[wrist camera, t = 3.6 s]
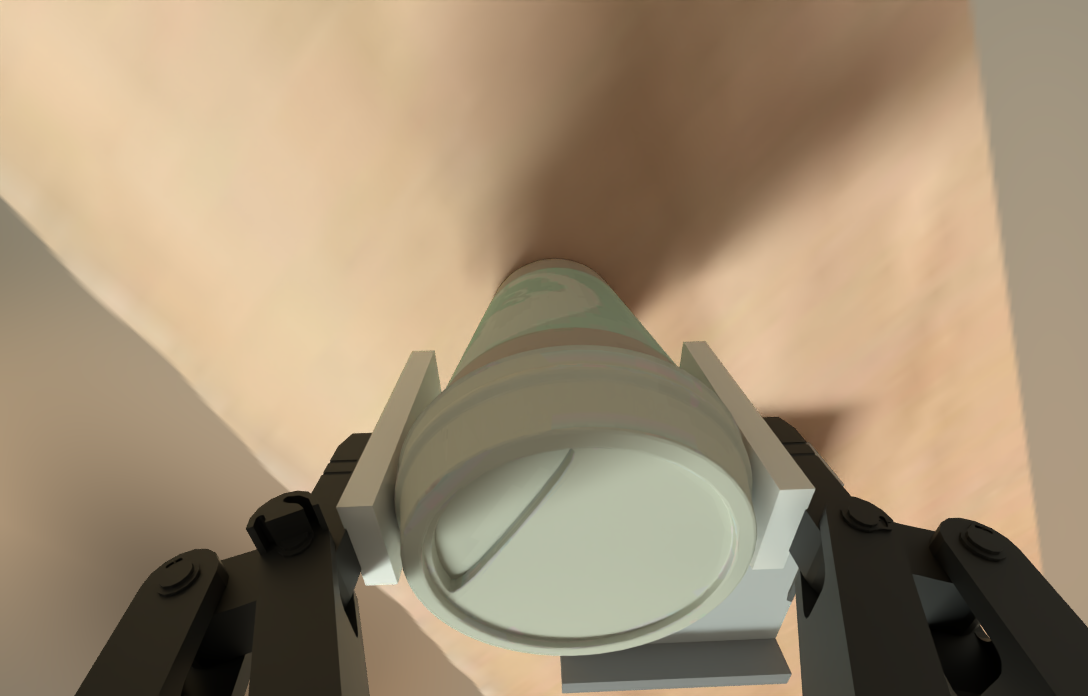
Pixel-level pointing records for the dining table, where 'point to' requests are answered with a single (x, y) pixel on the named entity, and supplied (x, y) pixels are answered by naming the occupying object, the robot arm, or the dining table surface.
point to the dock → (702, 644)
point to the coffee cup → (572, 479)
